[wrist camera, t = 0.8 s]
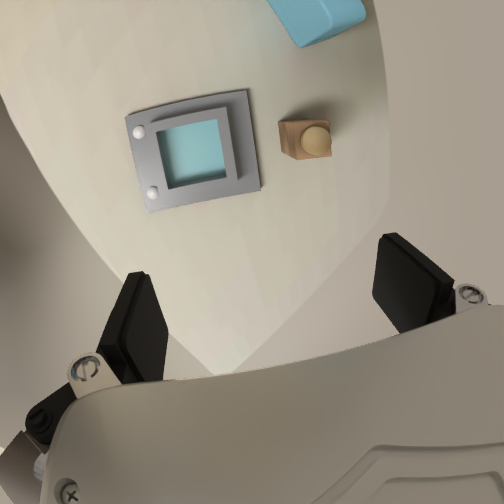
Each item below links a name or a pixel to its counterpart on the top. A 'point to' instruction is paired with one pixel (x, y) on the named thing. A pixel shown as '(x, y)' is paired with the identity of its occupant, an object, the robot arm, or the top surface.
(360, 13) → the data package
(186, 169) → the frame
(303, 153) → the wooden block with knob
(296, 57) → the top surface
